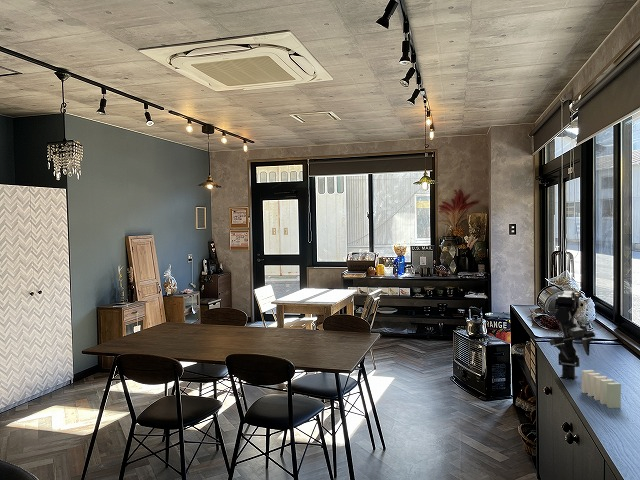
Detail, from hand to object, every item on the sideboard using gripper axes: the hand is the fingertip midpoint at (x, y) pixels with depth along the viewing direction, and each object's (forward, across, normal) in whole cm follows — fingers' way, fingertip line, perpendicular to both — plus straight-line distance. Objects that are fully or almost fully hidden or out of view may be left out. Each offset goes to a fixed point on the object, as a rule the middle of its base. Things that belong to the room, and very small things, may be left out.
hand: (578, 357), depth 223 cm
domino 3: (+19, +2, -3) cm, 19 cm away
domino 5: (+22, +2, -11) cm, 24 cm away
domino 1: (+16, +2, +5) cm, 17 cm away
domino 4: (+20, +2, -7) cm, 21 cm away
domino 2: (+17, +2, +1) cm, 17 cm away
